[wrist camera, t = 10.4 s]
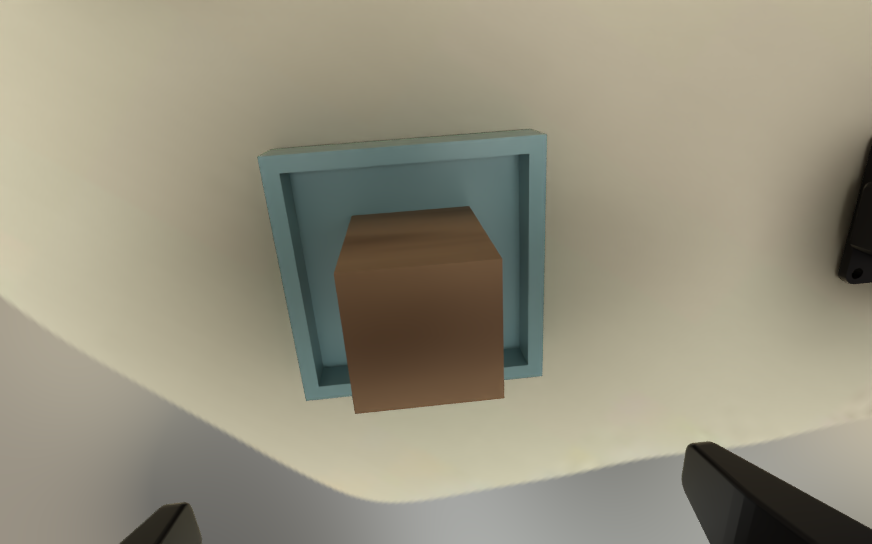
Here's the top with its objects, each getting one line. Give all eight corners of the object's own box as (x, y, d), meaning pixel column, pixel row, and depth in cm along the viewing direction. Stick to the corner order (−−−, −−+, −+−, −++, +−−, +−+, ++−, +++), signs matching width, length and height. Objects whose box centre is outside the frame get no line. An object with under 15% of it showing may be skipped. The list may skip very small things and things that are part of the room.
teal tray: (531, 129, 18) (546, 134, 16) (529, 350, 22) (542, 375, 20) (271, 149, 18) (257, 156, 16) (313, 373, 21) (306, 400, 19)
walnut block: (473, 311, 20) (504, 398, 15) (365, 321, 20) (355, 414, 14) (469, 206, 18) (502, 258, 13) (351, 215, 18) (333, 273, 13)
